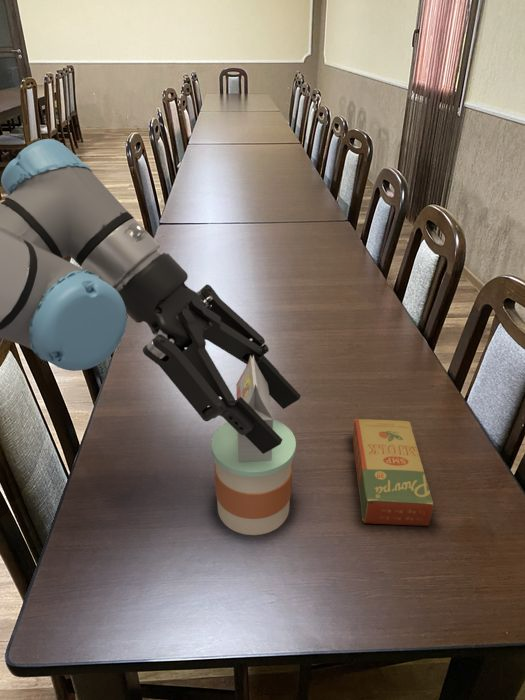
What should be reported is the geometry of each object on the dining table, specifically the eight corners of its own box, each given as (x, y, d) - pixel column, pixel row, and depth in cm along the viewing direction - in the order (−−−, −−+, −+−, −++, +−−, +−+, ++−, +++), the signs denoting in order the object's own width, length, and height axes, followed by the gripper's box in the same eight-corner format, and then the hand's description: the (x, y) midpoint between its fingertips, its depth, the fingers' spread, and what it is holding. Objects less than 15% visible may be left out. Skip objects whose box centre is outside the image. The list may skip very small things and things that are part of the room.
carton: (407, 442, 80) (411, 419, 78) (430, 528, 66) (436, 504, 64) (351, 439, 80) (354, 417, 78) (362, 524, 67) (366, 500, 64)
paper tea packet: (266, 422, 66) (268, 354, 61) (271, 460, 61) (274, 388, 55) (236, 423, 66) (236, 354, 61) (239, 462, 60) (238, 389, 55)
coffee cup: (202, 526, 66) (197, 460, 61) (230, 471, 74) (228, 409, 69) (280, 546, 64) (283, 480, 58) (300, 487, 72) (304, 424, 66)
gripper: (104, 293, 46) (282, 472, 50) (198, 222, 63) (325, 361, 67) (63, 337, 50) (230, 500, 54) (161, 260, 67) (283, 388, 71)
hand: (282, 423), depth 61 cm, fingers closed on paper tea packet, 8 cm apart
